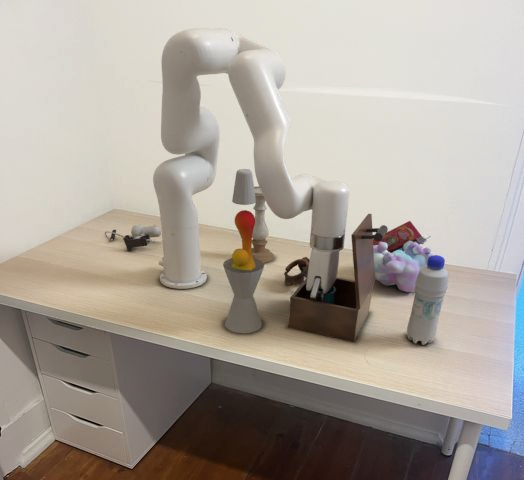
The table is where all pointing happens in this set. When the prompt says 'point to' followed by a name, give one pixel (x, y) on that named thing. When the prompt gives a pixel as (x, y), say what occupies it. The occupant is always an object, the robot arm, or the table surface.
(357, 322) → the chest
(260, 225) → the candle holder
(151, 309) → the table surface
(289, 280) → the pottery mug
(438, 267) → the bottle
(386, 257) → the iridescent bubble cluster
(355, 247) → the lid
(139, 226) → the clip-on lamp
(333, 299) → the cup
